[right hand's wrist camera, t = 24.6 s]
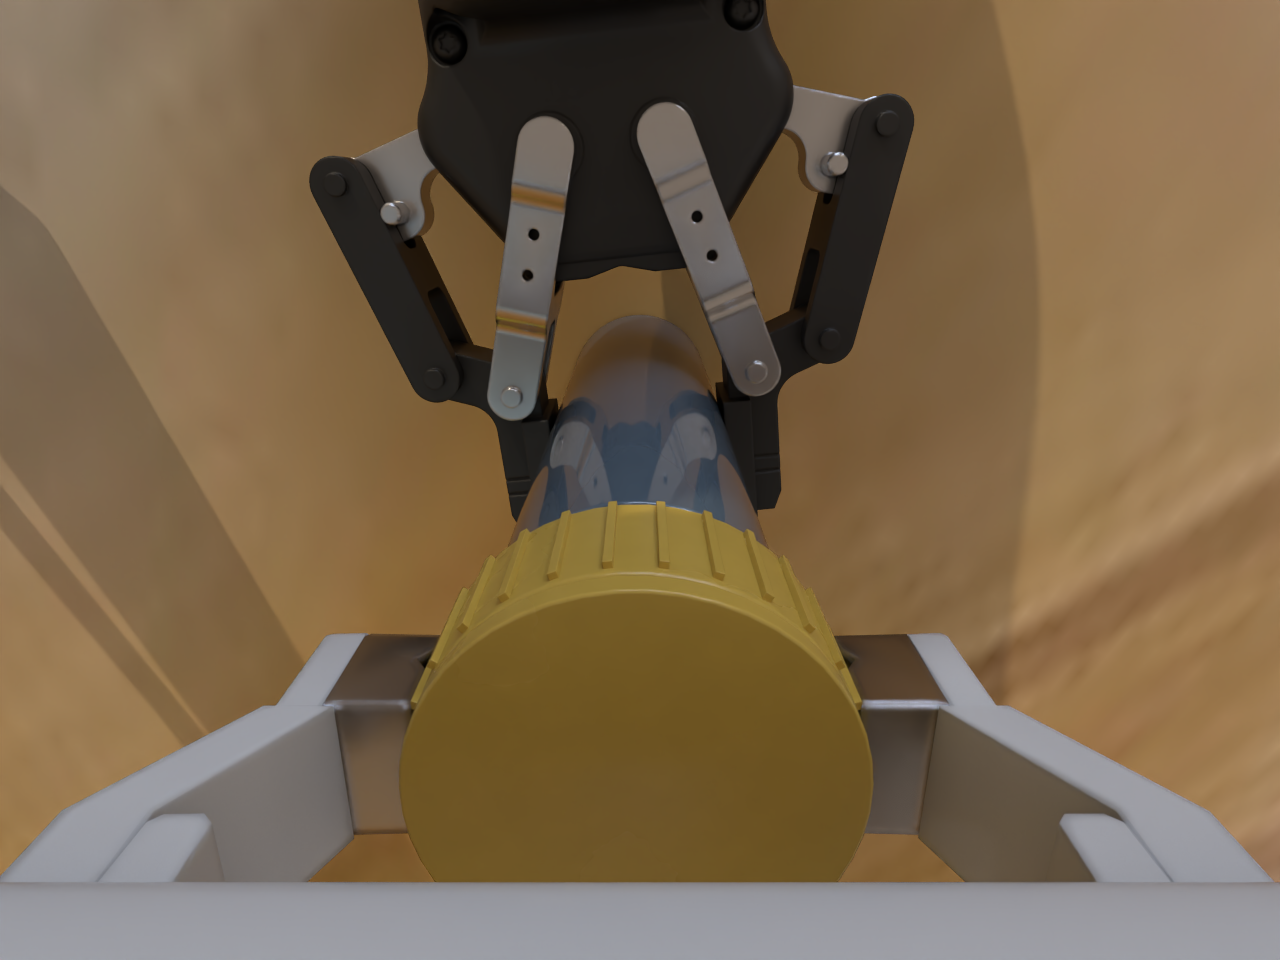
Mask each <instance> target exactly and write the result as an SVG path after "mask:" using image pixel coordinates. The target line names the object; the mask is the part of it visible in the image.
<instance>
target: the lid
mask: <svg viewBox="0 0 1280 960" xmlns="http://www.w3.org/2000/svg"><path fill="white" fill-rule="evenodd" d="M410 703H411V709H413V710H414V711H413V714H412V716H411V719H410V722H409V725H408V727H407V730H406V733H405V736H404V740H403V745H402V750H401V756H400V761H399V793H400V800H401V807H402V814H403V817H404V820H405V824H406V827H407V830H408V833H409V837H410V839H411V841H412V843H413V845H414V847H415V850H416V852H417V854H418V856H419V858H420V860H421V862H422V863H423V864H424V866H425V867H426V869H427V870H428V872H429V873H430V875H431V876H432V878H433V879H434V881H435V882H838V880H839V879H840V878H841V876H842V875H843V873H844V872H845V870H846V868H847V867H848V865H849V864H850V862H851V861H852V859H853V857H854V855H855V853H856V851H857V849H858V847H859V844H860V842H861V840H862V838H863V836H864V832H865V829H866V825H867V822H868V818H869V814H870V811H871V803H872V794H873V786H874V781H873V760H872V755H871V750H870V746H869V741H868V736H867V733H866V730H865V728H864V725H863V723H862V720H861V718H860V715H859V712H858V710H861V705H862V700H861V698H860V696H859V694H858V691H857V689H856V687H855V684H854V682H853V680H852V677H851V675H850V673H849V670H848V668H847V666H846V663H845V661H844V659H843V657H842V654H841V652H840V650H839V647H838V645H837V643H836V640H835V638H834V636H833V633H832V631H831V629H830V626H829V624H827V621H826V619H825V617H824V614H823V612H822V610H821V607H820V605H819V603H818V601H817V598H816V596H815V594H814V592H813V590H812V589H811V588H808V589H806V590H805V589H804V587H803V586H802V584H801V583H800V582H799V581H798V579H797V578H796V577H795V575H794V573H793V570H792V568H791V565H790V563H789V560H788V559H787V558H786V557H785V556H784V555H782V556H781V557H780V558H778V557H776V556H775V555H774V554H773V553H772V552H771V551H770V550H769V549H767V548H766V547H765V546H763V545H762V544H760V543H759V542H758V541H756V538H755V535H754V532H752V531H750V530H749V529H746V530H745V532H742V531H740V530H738V529H736V528H734V527H732V526H730V525H729V524H727V523H724V522H722V521H719V520H716V519H714V518H713V516H712V513H711V512H709V511H705V510H704V511H703V513H702V514H700V513H695V512H691V511H687V510H683V509H679V508H674V507H666V505H665V502H663V501H656V505H617V501H610V502H608V507H601V508H594V509H590V510H586V511H582V512H578V513H574V514H571V512H570V510H568V511H565V512H562V513H561V517H560V519H557V520H555V521H552V522H550V523H547V524H545V525H543V526H541V527H539V528H537V529H535V530H534V531H532V532H529V531H528V529H525V530H523V531H521V532H520V533H519V536H518V539H517V541H516V542H514V543H513V544H512V545H510V546H509V547H508V548H506V549H505V550H504V551H502V552H501V553H500V554H499V555H498V556H497V557H496V558H494V557H493V556H492V555H490V556H489V557H488V558H486V559H485V562H484V564H483V566H482V569H481V571H480V573H479V576H478V578H477V579H476V580H475V582H474V583H473V584H472V586H471V587H470V588H469V590H468V589H466V588H464V587H463V588H462V590H461V591H460V593H459V595H458V597H457V599H456V602H455V604H454V606H453V608H452V611H451V613H450V615H449V617H448V619H447V622H446V624H445V626H444V628H443V630H442V633H441V635H440V637H439V639H438V641H437V644H436V646H435V648H434V650H433V652H432V655H431V657H430V659H429V661H428V664H427V666H426V668H425V670H424V672H423V675H422V677H421V679H420V681H419V684H418V686H417V688H416V690H415V692H414V695H413V697H412V699H411V701H410Z"/></svg>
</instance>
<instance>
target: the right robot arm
mask: <svg viewBox="0 0 1280 960" xmlns="http://www.w3.org/2000/svg"><path fill="white" fill-rule="evenodd" d="M439 637H440V635H408V634H370V635H369V634H367V633H348V634H331V635H327V636H326V637H325V638H324V639H323V640H322V642H321V643H320V644H319V646H318V647H317V649H316V650H315V651H314V653H313V654H312V656H311V657H310V658H309V660H308V661H307V662H306V664H305V665H304V667H303V668H302V669H301V671H300V672H299V674H298V675H297V676H296V678H295V679H294V681H293V682H292V683H291V685H290V686H289V688H288V689H287V690H286V692H285V693H284V695H283V696H282V697H281V699H280V700H279V702H278V703H277V704H276V706H262V707H260V708H258V709H256V710H254V711H252V712H250V713H248V714H247V715H245V716H243V717H241V718H239V719H237V720H235V721H233V722H231V723H229V724H227V725H225V726H223V727H222V728H220V729H218V730H216V731H214V732H212V733H210V734H208V735H206V736H204V737H202V738H200V739H198V740H196V741H195V742H193V743H191V744H189V745H187V746H185V747H183V748H181V749H179V750H177V751H175V752H173V753H171V754H170V755H168V756H166V757H164V758H162V759H160V760H158V761H156V762H154V763H152V764H150V765H148V766H146V767H144V768H143V769H141V770H139V771H137V772H135V773H133V774H131V775H129V776H127V777H125V778H123V779H121V780H119V781H118V782H116V783H114V784H112V785H110V786H108V787H106V788H104V789H102V790H100V791H98V792H96V793H94V794H92V795H91V796H89V797H87V798H85V799H83V800H81V801H79V802H77V803H75V804H73V805H71V806H69V807H67V808H66V809H64V810H62V811H61V812H60V813H59V814H58V815H57V816H56V817H55V818H54V819H53V820H52V822H51V823H50V824H49V825H48V826H47V827H46V828H45V829H44V830H43V831H42V832H41V833H40V834H39V835H38V836H37V838H36V839H35V840H34V841H33V842H32V843H31V844H30V845H29V846H28V847H27V848H26V849H25V850H24V851H23V852H22V853H21V855H20V856H19V857H18V858H17V859H16V860H15V861H14V862H13V863H12V864H11V865H10V866H9V867H8V868H7V869H6V871H5V872H4V873H3V874H2V875H1V876H0V960H1280V882H1274V881H1273V880H1272V879H1271V878H1270V877H1269V875H1268V874H1267V873H1266V872H1265V871H1264V870H1263V869H1262V868H1261V867H1260V866H1259V865H1258V863H1257V862H1256V861H1255V860H1254V859H1253V858H1252V857H1251V856H1250V855H1249V854H1248V853H1247V852H1246V850H1245V849H1244V848H1243V847H1242V846H1241V845H1240V844H1239V843H1238V842H1237V841H1236V840H1235V838H1234V837H1233V836H1232V835H1231V834H1230V833H1229V832H1228V831H1227V830H1226V829H1225V828H1224V826H1223V825H1222V824H1221V823H1220V822H1219V821H1218V820H1217V819H1216V818H1215V817H1214V816H1213V814H1212V813H1211V812H1210V811H1208V810H1206V809H1204V808H1202V807H1200V806H1198V805H1196V804H1195V803H1193V802H1191V801H1189V800H1187V799H1185V798H1183V797H1181V796H1179V795H1177V794H1176V793H1174V792H1172V791H1170V790H1168V789H1166V788H1164V787H1162V786H1160V785H1158V784H1157V783H1155V782H1153V781H1151V780H1149V779H1147V778H1145V777H1143V776H1141V775H1139V774H1138V773H1136V772H1134V771H1132V770H1130V769H1128V768H1126V767H1124V766H1122V765H1120V764H1119V763H1117V762H1115V761H1113V760H1111V759H1109V758H1107V757H1105V756H1103V755H1101V754H1100V753H1098V752H1096V751H1094V750H1092V749H1090V748H1088V747H1086V746H1084V745H1082V744H1080V743H1079V742H1077V741H1075V740H1073V739H1071V738H1069V737H1067V736H1065V735H1063V734H1061V733H1060V732H1058V731H1056V730H1054V729H1052V728H1050V727H1048V726H1046V725H1044V724H1042V723H1041V722H1039V721H1037V720H1035V719H1033V718H1031V717H1029V716H1027V715H1025V714H1023V713H1022V712H1020V711H1018V710H1016V709H1014V708H1012V707H1010V706H996V704H995V703H994V701H993V700H992V699H991V697H990V696H989V694H988V693H987V691H986V690H985V689H984V687H983V686H982V684H981V683H980V682H979V680H978V679H977V677H976V676H975V675H974V673H973V672H972V670H971V669H970V667H969V666H968V665H967V663H966V662H965V660H964V659H963V658H962V656H961V655H960V653H959V652H958V651H957V649H956V648H955V646H954V645H953V643H952V642H951V641H950V639H949V638H948V636H946V635H944V634H942V633H925V634H894V635H854V636H834V638H835V640H836V643H837V645H838V647H839V650H840V652H841V654H842V657H843V659H844V661H845V663H846V666H847V668H848V670H849V673H850V675H851V677H852V680H853V682H854V684H855V687H856V689H857V691H858V694H859V696H860V698H861V700H862V705H861V710H858V712H859V715H860V718H861V720H862V723H863V725H864V728H865V730H866V733H867V736H868V741H869V746H870V750H871V755H872V760H873V781H874V786H873V794H872V803H871V811H870V814H869V818H868V822H867V825H866V829H865V832H864V833H876V834H912V835H919V836H918V838H919V839H920V840H921V841H922V842H923V843H924V844H925V845H926V846H928V847H929V848H930V849H931V850H932V851H933V852H934V853H935V854H936V855H937V856H938V857H939V858H940V859H942V860H943V861H944V862H945V863H946V864H947V865H948V866H949V867H950V868H951V869H952V870H953V871H954V872H955V873H957V874H958V875H959V876H960V877H961V878H962V879H963V880H964V881H965V882H307V881H308V880H310V879H311V878H312V877H313V876H314V875H315V874H316V873H317V872H318V871H319V870H320V869H322V868H323V867H324V866H325V865H326V864H327V863H328V862H329V861H330V860H331V859H332V858H333V857H335V856H336V855H337V854H338V853H339V852H340V851H341V850H342V849H343V848H344V847H345V846H347V845H348V844H349V843H350V842H351V841H352V840H353V839H354V835H360V834H395V833H408V830H407V827H406V824H405V820H404V817H403V814H402V807H401V800H400V793H399V761H400V756H401V750H402V745H403V740H404V736H405V733H406V730H407V727H408V725H409V722H410V719H411V716H412V714H413V711H414V710H413V709H411V703H410V701H411V699H412V697H413V695H414V692H415V690H416V688H417V686H418V684H419V681H420V679H421V677H422V675H423V672H424V670H425V668H426V666H427V664H428V661H429V659H430V657H431V655H432V652H433V650H434V648H435V646H436V644H437V641H438V639H439Z"/></svg>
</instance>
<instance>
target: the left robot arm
mask: <svg viewBox="0 0 1280 960" xmlns="http://www.w3.org/2000/svg"><path fill="white" fill-rule="evenodd" d="M418 3H419V8H420V14H421V20H422V25H423V31H424V37H425V42H426V48H427V55H428V76H427V83H426V88H425V92H424V96H423V99H422V102H421V105H420V108H419V113H418V129H416V130H414V131H412V132H410V133H408V134H406V135H404V136H401V137H399V138H397V139H395V140H393V141H391V142H389V143H386V144H384V145H382V146H380V147H378V148H376V149H374V150H371V151H369V152H367V153H365V154H363V155H361V156H359V157H356V158H348V157H339V156H328V157H324V158H322V159H320V160H319V161H318V162H317V163H316V164H315V165H314V166H313V168H312V170H311V173H310V179H309V183H310V189H311V192H312V194H313V196H314V198H315V200H316V202H317V204H318V206H319V208H320V210H321V212H322V214H323V216H324V218H325V220H326V222H327V223H328V225H329V227H330V229H331V231H332V233H333V235H334V237H335V239H336V241H337V243H338V245H339V247H340V248H341V250H342V252H343V254H344V256H345V258H346V260H347V262H348V264H349V266H350V268H351V270H352V272H353V273H354V275H355V277H356V279H357V281H358V283H359V285H360V287H361V289H362V291H363V293H364V295H365V297H366V298H367V300H368V302H369V304H370V306H371V308H372V310H373V312H374V314H375V316H376V318H377V320H378V322H379V324H380V325H381V327H382V329H383V331H384V333H385V335H386V337H387V339H388V341H389V343H390V345H391V347H392V349H393V350H394V352H395V354H396V356H397V358H398V360H399V362H400V364H401V366H402V368H403V370H404V372H405V374H406V375H407V377H408V379H409V381H410V383H411V385H412V387H413V389H414V390H415V392H416V393H417V394H418V395H419V396H420V397H421V398H423V399H425V400H427V401H430V402H437V403H438V402H444V401H447V400H452V401H456V402H460V403H464V404H468V405H472V406H476V407H478V408H480V409H482V410H483V411H485V412H486V413H487V414H488V415H489V416H490V417H491V418H492V419H493V421H494V423H495V425H496V427H497V431H498V436H499V442H500V448H501V454H502V460H503V465H504V471H505V477H506V480H507V482H506V483H507V488H508V493H509V500H510V506H511V512H512V516H513V517H514V519H515V521H516V522H517V521H518V518H519V515H520V513H521V510H522V507H523V505H524V502H525V499H526V497H527V494H528V491H529V489H530V486H531V483H532V481H533V478H534V475H535V473H536V470H537V467H538V465H539V462H540V459H541V457H542V454H543V451H544V449H545V446H546V443H547V441H548V438H549V435H550V433H551V430H552V427H553V425H554V422H555V419H556V417H557V414H558V411H559V410H558V403H557V398H555V399H548V394H547V387H546V382H547V377H548V371H549V365H550V359H551V353H552V347H553V341H554V335H555V329H556V323H557V318H558V314H559V311H560V306H561V301H562V295H563V289H564V283H565V281H568V280H577V279H587V278H590V277H593V276H595V275H598V274H600V273H603V272H605V271H608V270H610V269H613V268H615V267H618V266H627V267H633V268H639V269H645V270H651V271H661V270H670V269H680V268H686V271H687V273H688V276H689V278H690V281H691V283H692V285H693V288H694V290H695V293H696V295H697V298H698V300H699V302H700V305H701V307H702V310H703V312H704V315H705V317H706V320H707V322H708V325H709V327H710V330H711V332H712V335H713V337H714V340H715V342H716V345H717V347H718V349H719V352H720V354H721V357H722V372H723V382H718V383H715V384H716V398H717V404H718V407H719V410H720V413H721V416H722V418H723V421H724V424H725V427H726V430H727V433H728V435H729V438H730V441H731V444H732V447H733V449H734V452H735V455H736V458H737V461H738V463H739V466H740V469H741V472H742V475H743V478H744V480H745V483H746V486H747V489H748V492H749V494H750V497H751V500H752V503H753V506H754V508H755V511H756V514H757V517H758V513H757V510H762V509H772V508H775V505H776V503H777V500H778V497H779V495H780V492H781V474H780V456H779V432H778V410H777V399H778V394H779V391H780V389H781V387H782V386H783V384H784V383H785V382H786V381H787V380H788V379H789V378H790V377H791V376H793V375H794V374H796V373H798V372H800V371H802V370H804V369H807V368H809V367H811V366H813V365H815V364H817V363H823V364H832V363H836V362H838V361H840V360H842V359H843V358H845V357H846V356H847V355H848V353H849V352H850V351H851V349H852V347H853V344H854V341H855V337H856V334H857V330H858V326H859V323H860V319H861V316H862V312H863V308H864V305H865V301H866V297H867V294H868V290H869V287H870V283H871V279H872V276H873V272H874V268H875V265H876V261H877V258H878V254H879V250H880V247H881V243H882V240H883V236H884V232H885V229H886V225H887V221H888V218H889V214H890V211H891V207H892V203H893V200H894V196H895V192H896V189H897V185H898V182H899V178H900V174H901V171H902V167H903V164H904V160H905V156H906V153H907V149H908V145H909V142H910V138H911V135H912V131H913V126H914V114H913V111H912V108H911V106H910V105H909V103H908V102H907V101H906V100H905V99H904V98H902V97H901V96H899V95H896V94H883V95H880V96H875V97H871V98H868V99H858V98H853V97H848V96H843V95H838V94H833V93H828V92H823V91H819V90H814V89H809V88H804V87H799V86H794V85H793V81H792V77H791V74H790V71H789V69H788V66H787V65H786V63H785V61H784V60H783V58H782V56H781V55H780V53H779V51H778V49H777V47H776V45H775V42H774V40H773V37H772V35H771V31H770V27H769V23H768V18H767V10H766V0H418ZM781 133H784V134H786V135H787V136H788V137H790V138H791V139H792V140H793V142H794V143H795V145H796V147H797V150H798V155H799V161H798V174H799V177H800V180H801V182H802V183H803V184H804V186H805V187H806V188H808V189H809V190H811V191H813V192H817V193H818V196H817V200H816V204H815V208H814V212H813V216H812V220H811V224H810V228H809V232H808V237H807V241H806V245H805V249H804V253H803V257H802V261H801V265H800V269H799V273H798V277H797V282H796V286H795V290H794V294H793V298H792V302H791V306H790V310H789V311H788V312H786V313H784V314H782V315H780V316H778V317H776V318H774V319H772V320H770V321H767V322H764V319H763V317H762V314H761V312H760V309H759V306H758V304H757V301H756V298H755V293H754V289H753V286H752V283H751V280H750V277H749V274H748V272H747V269H746V266H745V264H744V261H743V259H742V256H741V253H740V251H739V248H738V245H737V243H736V240H735V237H734V235H733V232H732V229H731V227H730V224H729V222H730V220H731V218H732V217H733V215H734V213H735V212H736V210H737V208H738V206H739V205H740V203H741V201H742V200H743V198H744V196H745V194H746V193H747V191H748V189H749V188H750V186H751V184H752V182H753V181H754V179H755V177H756V176H757V174H758V172H759V171H760V169H761V167H762V165H763V164H764V162H765V160H766V159H767V157H768V155H769V153H770V152H771V150H772V148H773V147H774V145H775V143H776V142H777V140H778V138H779V136H780V135H781ZM439 173H440V174H441V175H442V176H443V177H444V178H445V179H446V180H447V181H448V182H449V183H450V184H451V186H452V187H453V188H454V189H455V190H456V191H457V192H458V193H459V194H460V195H461V196H462V198H463V199H464V200H465V201H466V202H467V203H468V204H469V205H470V206H471V207H472V208H473V209H474V211H475V212H476V213H477V214H478V215H479V216H480V217H481V218H482V219H483V220H484V221H485V223H486V224H487V225H488V226H489V227H490V228H491V229H492V230H493V231H494V232H495V233H496V235H497V236H498V237H499V238H500V239H501V240H502V241H503V242H504V243H505V247H504V254H503V261H502V269H501V276H500V283H499V290H498V297H497V305H496V335H495V342H494V349H489V348H485V347H481V346H477V345H474V344H473V342H472V340H471V338H470V336H469V334H468V332H467V330H466V328H465V326H464V324H463V322H462V319H461V317H460V315H459V313H458V311H457V309H456V307H455V305H454V303H453V301H452V299H451V297H450V295H449V293H448V290H447V288H446V286H445V284H444V282H443V280H442V278H441V276H440V274H439V272H438V270H437V268H436V266H435V264H434V261H433V259H432V257H431V255H430V253H429V251H428V249H427V247H426V245H425V243H424V241H423V239H422V237H421V236H422V235H424V234H425V233H427V232H428V231H429V229H430V228H431V226H432V224H433V221H434V208H433V205H432V202H431V197H430V189H431V185H432V182H433V180H434V178H435V177H436V176H437V175H438V174H439Z"/></svg>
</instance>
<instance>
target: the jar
mask: <svg viewBox="0 0 1280 960" xmlns="http://www.w3.org/2000/svg"><path fill="white" fill-rule="evenodd" d="M610 501H617V505H656V501H663V502H665V505H666V507H674V508H679V509H683V510H687V511H691V512H695V513H700V514H702V513H703V511H704V510H705V511H709V512H711V513H712V516H713V518H714V519H716V520H719V521H722V522H724V523H727V524H729V525H730V526H732V527H734V528H736V529H738V530H740V531H742V532H745V530H746V529H749V530H750V531H752V532H754V535H755V538H756V541H758V542H759V543H760V544H762V545H763V546H765V547H766V548H767V549H769V548H768V545H767V542H766V539H765V537H764V534H763V531H762V528H761V525H760V523H759V520H758V517H757V514H756V511H755V508H754V506H753V503H752V500H751V497H750V494H749V492H748V489H747V486H746V483H745V480H744V478H743V475H742V472H741V469H740V466H739V463H738V461H737V458H736V455H735V452H734V449H733V447H732V444H731V441H730V438H729V435H728V433H727V430H726V427H725V424H724V421H723V418H722V416H721V413H720V410H719V407H718V404H717V402H716V399H715V396H714V393H713V390H712V388H711V385H710V382H709V379H708V376H707V373H706V371H705V368H704V365H703V362H702V359H701V357H700V354H699V352H698V350H697V348H696V347H695V345H694V343H693V342H692V341H691V339H690V338H689V337H688V336H687V335H686V334H685V333H684V332H683V331H682V330H681V329H679V328H678V327H677V326H675V325H674V324H672V323H670V322H668V321H666V320H663V319H661V318H658V317H653V316H647V315H632V316H626V317H622V318H619V319H616V320H614V321H612V322H609V323H607V324H606V325H604V326H603V327H601V328H600V329H599V330H598V331H596V332H595V333H594V334H593V335H592V336H591V337H590V339H589V340H588V341H587V343H586V344H585V346H584V347H583V349H582V351H581V353H580V355H579V358H578V361H577V363H576V366H575V369H574V371H573V374H572V377H571V379H570V382H569V385H568V387H567V390H566V393H565V395H564V398H563V401H562V403H561V406H560V409H559V411H558V414H557V417H556V419H555V422H554V425H553V427H552V430H551V433H550V435H549V438H548V441H547V443H546V446H545V449H544V451H543V454H542V457H541V459H540V462H539V465H538V467H537V470H536V473H535V475H534V478H533V481H532V483H531V486H530V489H529V491H528V494H527V497H526V499H525V502H524V505H523V507H522V510H521V513H520V515H519V518H518V521H517V523H516V526H515V528H514V531H513V534H512V536H511V539H510V542H509V544H508V547H509V546H510V545H512V544H513V543H514V542H516V541H517V539H518V536H519V533H520V532H521V531H523V530H525V529H528V531H529V532H532V531H534V530H535V529H537V528H539V527H541V526H543V525H545V524H547V523H550V522H552V521H555V520H557V519H560V517H561V513H562V512H565V511H568V510H570V512H571V514H574V513H578V512H582V511H586V510H590V509H594V508H601V507H608V502H610ZM508 547H507V548H508Z"/></svg>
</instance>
